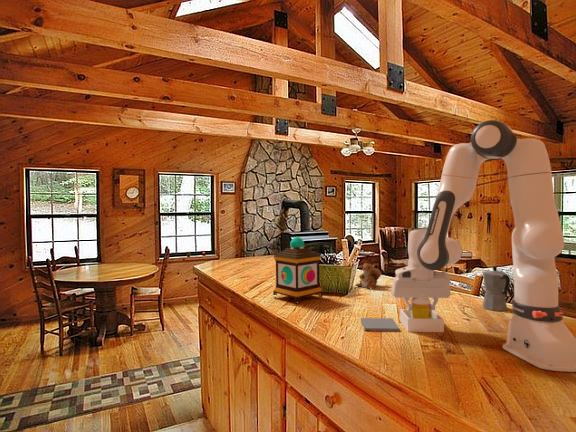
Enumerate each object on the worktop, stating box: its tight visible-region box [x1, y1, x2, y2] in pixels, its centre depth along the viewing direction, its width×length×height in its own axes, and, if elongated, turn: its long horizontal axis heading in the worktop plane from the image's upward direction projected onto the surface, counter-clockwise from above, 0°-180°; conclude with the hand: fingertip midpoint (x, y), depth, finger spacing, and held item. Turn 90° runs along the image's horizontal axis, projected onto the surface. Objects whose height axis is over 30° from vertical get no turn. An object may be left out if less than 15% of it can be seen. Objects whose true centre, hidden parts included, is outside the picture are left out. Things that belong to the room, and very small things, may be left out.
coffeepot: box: [482, 266, 511, 312], centre depth 155 cm, size 15×9×18 cm, turn 6°
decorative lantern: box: [272, 236, 324, 303], centre depth 178 cm, size 20×20×30 cm
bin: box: [399, 308, 445, 333], centre depth 134 cm, size 12×12×4 cm
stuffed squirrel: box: [355, 263, 382, 289], centre depth 202 cm, size 10×14×13 cm
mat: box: [360, 317, 401, 332], centre depth 135 cm, size 12×12×1 cm
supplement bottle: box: [410, 292, 432, 319], centre depth 134 cm, size 7×7×13 cm
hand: (420, 309), depth 134 cm, fingers closed on supplement bottle, 7 cm apart
